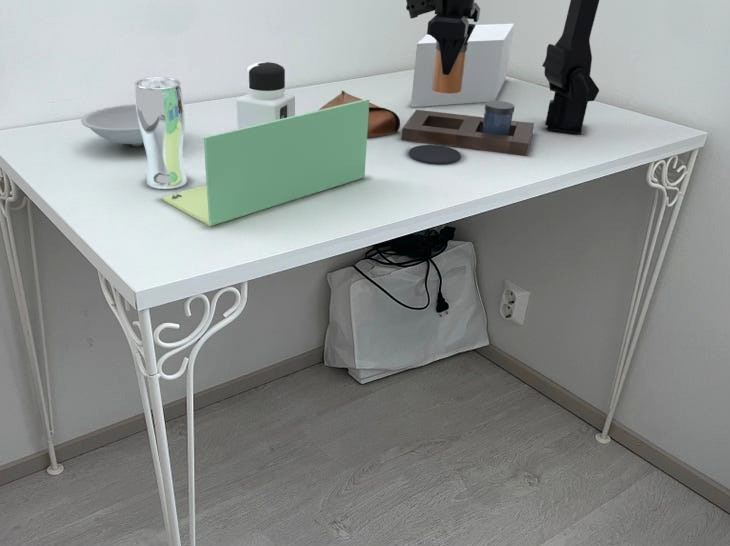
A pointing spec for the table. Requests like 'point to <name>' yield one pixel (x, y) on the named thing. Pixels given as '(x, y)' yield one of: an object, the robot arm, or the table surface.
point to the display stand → (278, 163)
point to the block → (466, 67)
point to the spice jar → (498, 117)
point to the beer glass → (162, 130)
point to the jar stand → (465, 132)
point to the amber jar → (455, 78)
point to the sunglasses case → (371, 116)
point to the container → (264, 96)
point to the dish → (115, 124)
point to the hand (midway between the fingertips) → (448, 70)
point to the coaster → (434, 154)
